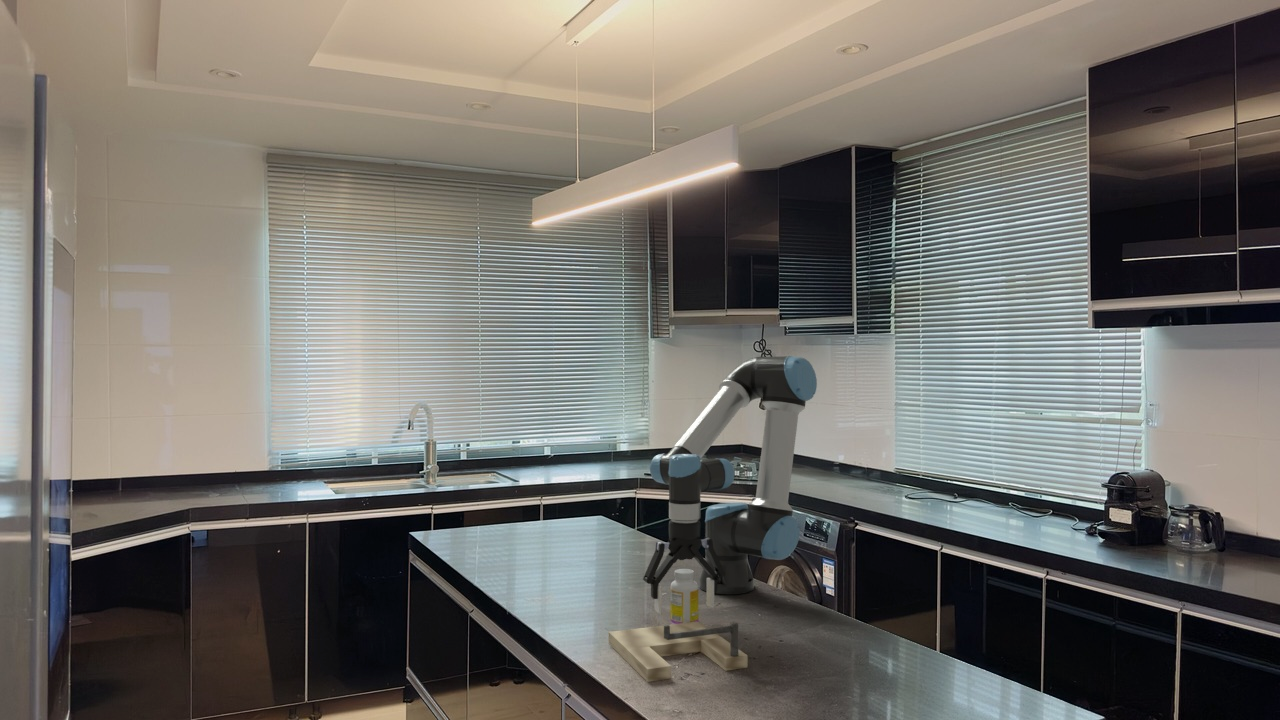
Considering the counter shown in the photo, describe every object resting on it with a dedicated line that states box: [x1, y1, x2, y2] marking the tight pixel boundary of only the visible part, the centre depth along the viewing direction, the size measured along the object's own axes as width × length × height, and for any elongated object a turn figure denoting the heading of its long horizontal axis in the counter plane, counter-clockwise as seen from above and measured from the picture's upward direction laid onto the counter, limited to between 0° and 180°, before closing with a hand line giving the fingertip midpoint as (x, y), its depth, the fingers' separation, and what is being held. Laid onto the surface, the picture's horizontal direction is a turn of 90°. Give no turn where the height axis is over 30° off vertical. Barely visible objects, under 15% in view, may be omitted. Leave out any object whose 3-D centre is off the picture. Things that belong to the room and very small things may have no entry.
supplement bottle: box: [670, 568, 700, 625], centre depth 202 cm, size 7×7×13 cm
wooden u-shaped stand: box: [608, 621, 749, 683], centre depth 182 cm, size 22×24×10 cm
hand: (684, 609), depth 202 cm, fingers open, 13 cm apart
